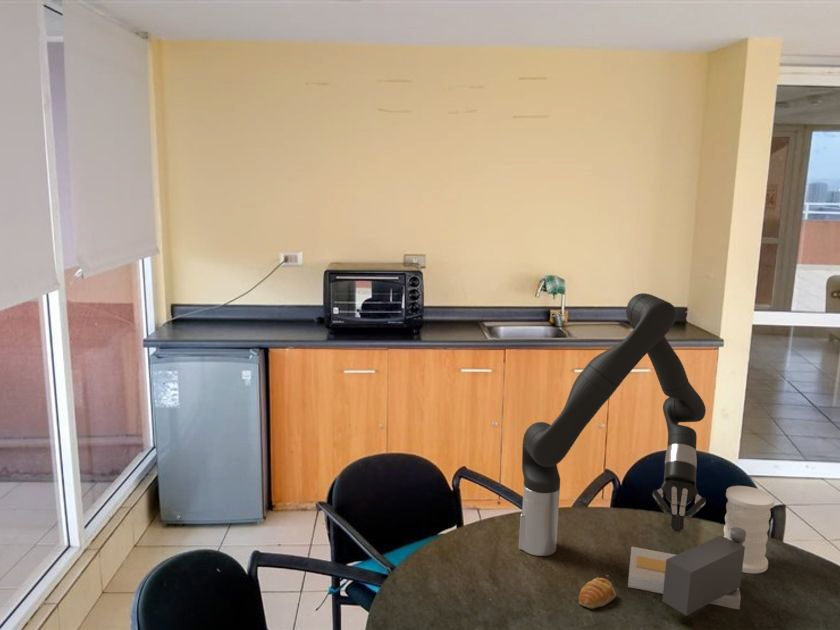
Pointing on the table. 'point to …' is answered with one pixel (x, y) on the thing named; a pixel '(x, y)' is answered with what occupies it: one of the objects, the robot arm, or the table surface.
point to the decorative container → (750, 523)
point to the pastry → (596, 593)
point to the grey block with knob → (704, 572)
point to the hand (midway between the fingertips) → (676, 532)
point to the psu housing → (651, 575)
